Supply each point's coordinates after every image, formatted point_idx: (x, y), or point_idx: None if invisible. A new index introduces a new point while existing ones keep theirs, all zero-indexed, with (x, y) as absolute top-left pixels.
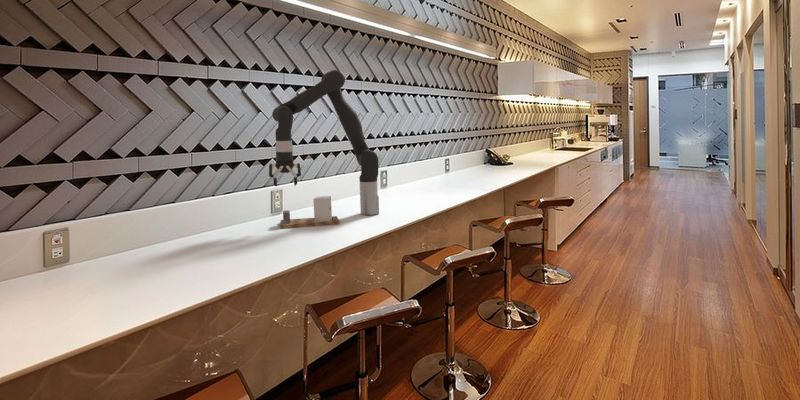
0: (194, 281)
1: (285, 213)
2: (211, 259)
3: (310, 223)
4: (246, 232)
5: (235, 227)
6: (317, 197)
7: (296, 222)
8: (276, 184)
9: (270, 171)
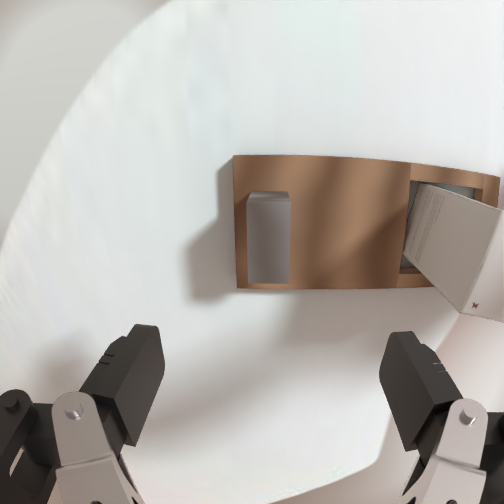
0: (151, 496)
1: (263, 282)
2: (129, 456)
3: (378, 288)
4: (111, 288)
5: (54, 186)
6: (492, 274)
7: (318, 251)
8: (156, 384)
9: (28, 502)
